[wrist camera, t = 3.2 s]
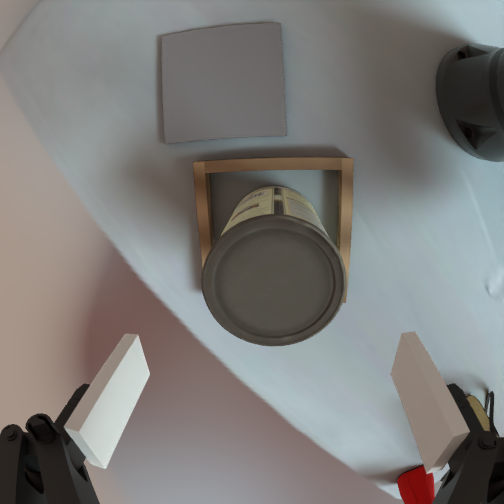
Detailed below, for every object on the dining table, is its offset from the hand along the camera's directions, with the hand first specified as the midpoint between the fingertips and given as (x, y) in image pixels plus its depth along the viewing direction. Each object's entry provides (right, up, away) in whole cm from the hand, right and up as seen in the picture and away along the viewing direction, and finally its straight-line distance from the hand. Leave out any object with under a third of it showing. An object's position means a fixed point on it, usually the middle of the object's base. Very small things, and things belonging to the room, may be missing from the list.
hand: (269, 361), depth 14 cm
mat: (-4, +23, +15) cm, 28 cm away
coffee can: (+2, +8, +21) cm, 22 cm away
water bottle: (+41, -52, +39) cm, 77 cm away
